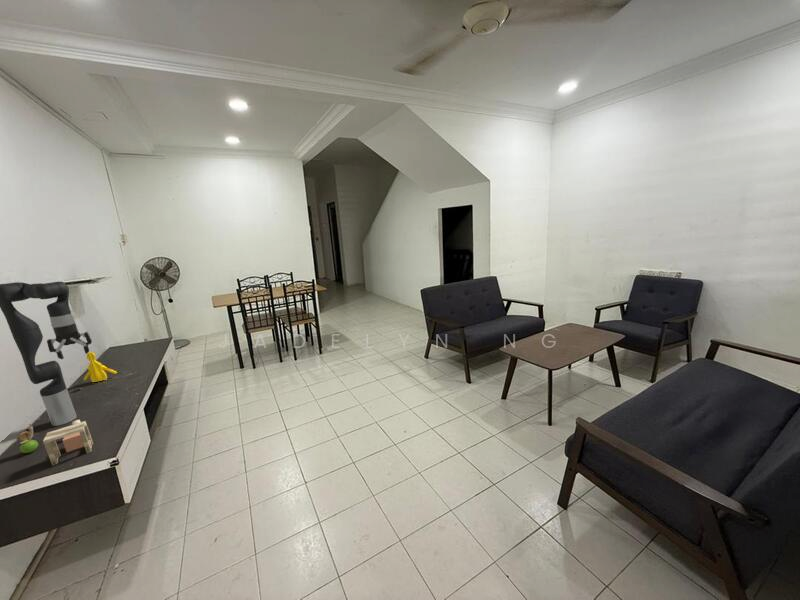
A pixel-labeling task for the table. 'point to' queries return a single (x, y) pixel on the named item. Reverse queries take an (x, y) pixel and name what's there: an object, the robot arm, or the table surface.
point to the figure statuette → (96, 369)
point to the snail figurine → (27, 441)
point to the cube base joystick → (73, 440)
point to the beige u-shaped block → (63, 432)
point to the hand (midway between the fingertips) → (74, 355)
